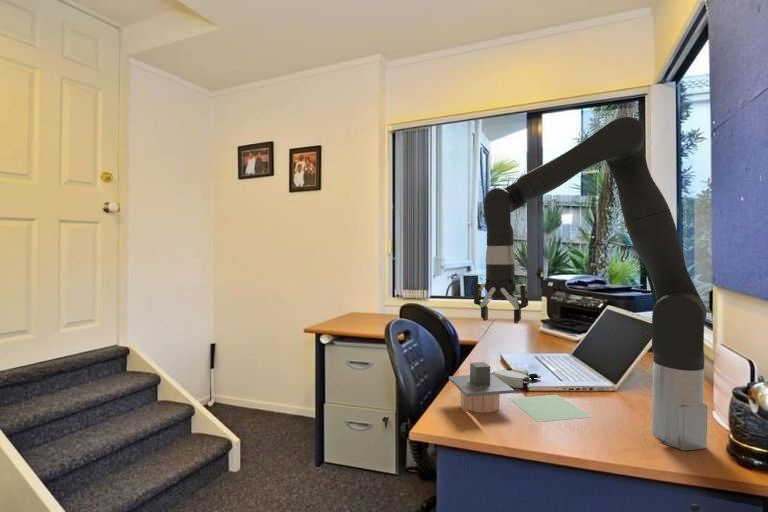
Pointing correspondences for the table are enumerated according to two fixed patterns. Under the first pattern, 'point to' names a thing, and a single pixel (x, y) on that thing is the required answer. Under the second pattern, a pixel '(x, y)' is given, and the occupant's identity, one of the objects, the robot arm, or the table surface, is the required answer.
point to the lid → (480, 382)
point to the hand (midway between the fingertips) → (500, 321)
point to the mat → (549, 408)
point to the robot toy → (515, 377)
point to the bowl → (480, 403)
